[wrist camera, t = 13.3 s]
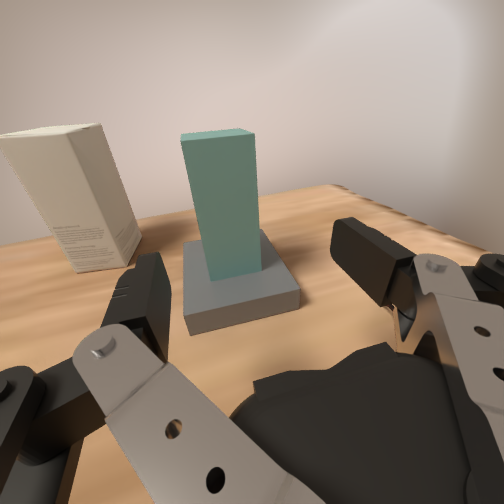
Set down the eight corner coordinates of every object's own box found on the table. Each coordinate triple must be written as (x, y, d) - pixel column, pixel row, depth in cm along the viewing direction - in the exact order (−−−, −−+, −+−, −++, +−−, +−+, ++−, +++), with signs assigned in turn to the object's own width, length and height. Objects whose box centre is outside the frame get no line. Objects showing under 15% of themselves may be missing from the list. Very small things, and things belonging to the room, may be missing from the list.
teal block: (210, 281, 21) (180, 141, 15) (206, 253, 25) (180, 134, 19) (261, 271, 22) (254, 133, 16) (249, 245, 26) (239, 128, 20)
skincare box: (102, 242, 35) (45, 126, 26) (146, 236, 35) (104, 121, 27) (73, 275, 28) (-16, 134, 19) (129, 268, 28) (65, 127, 20)
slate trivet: (190, 335, 19) (183, 315, 18) (187, 259, 29) (183, 242, 28) (299, 308, 21) (300, 288, 20) (262, 245, 31) (261, 228, 30)
